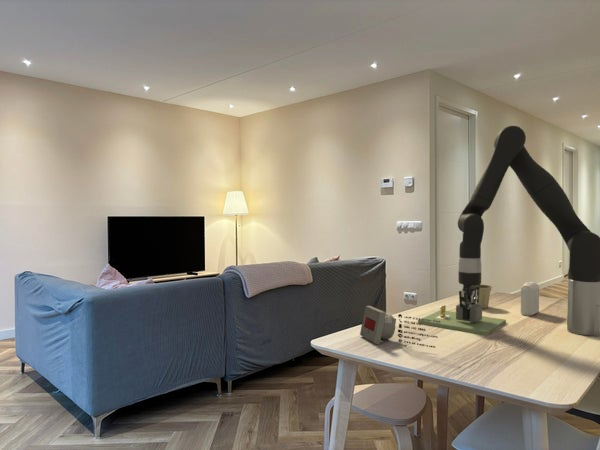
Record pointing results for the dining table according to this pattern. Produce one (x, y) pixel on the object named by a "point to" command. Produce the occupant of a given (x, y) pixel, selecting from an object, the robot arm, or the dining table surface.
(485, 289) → the flower pot
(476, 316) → the block
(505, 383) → the dining table surface
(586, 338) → the dining table surface
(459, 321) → the board
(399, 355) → the dining table surface
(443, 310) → the header pins
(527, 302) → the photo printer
